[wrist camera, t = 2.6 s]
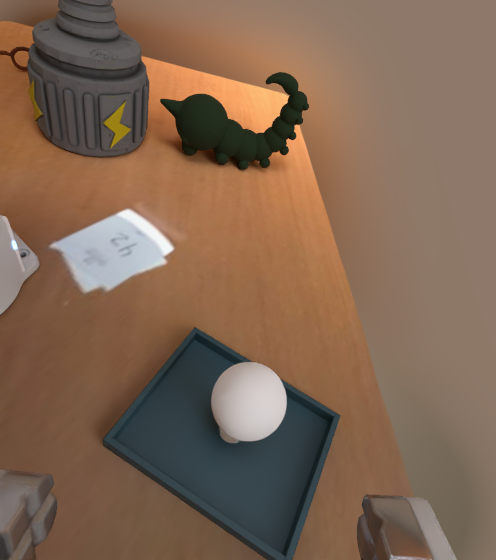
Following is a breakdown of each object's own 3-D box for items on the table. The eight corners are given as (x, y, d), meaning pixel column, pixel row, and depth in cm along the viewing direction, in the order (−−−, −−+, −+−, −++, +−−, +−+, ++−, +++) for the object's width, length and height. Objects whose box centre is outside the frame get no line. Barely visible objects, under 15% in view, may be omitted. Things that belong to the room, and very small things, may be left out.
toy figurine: (271, 163, 80) (154, 130, 72) (311, 73, 67) (173, 22, 59) (277, 189, 74) (150, 156, 66) (322, 95, 61) (170, 41, 53)
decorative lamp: (119, 103, 77) (117, -95, 56) (166, 151, 70) (185, -56, 48) (20, 110, 67) (-29, -130, 45) (63, 168, 59) (28, -88, 37)
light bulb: (204, 472, 35) (228, 430, 27) (194, 404, 39) (212, 351, 31) (268, 459, 37) (308, 417, 29) (252, 396, 41) (284, 345, 33)
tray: (103, 445, 34) (102, 439, 33) (192, 334, 45) (194, 326, 43) (282, 570, 32) (289, 568, 30) (334, 420, 42) (340, 415, 41)
